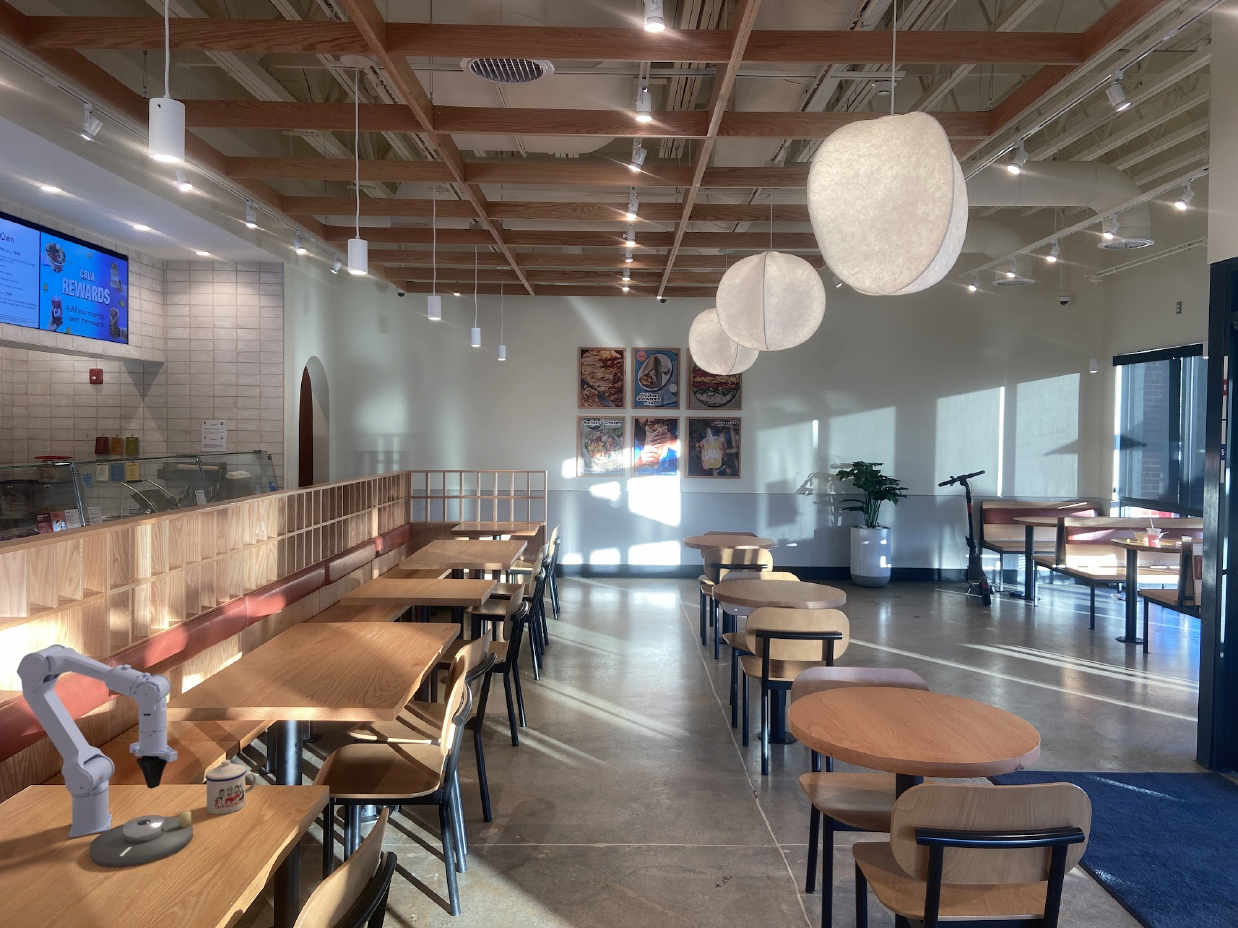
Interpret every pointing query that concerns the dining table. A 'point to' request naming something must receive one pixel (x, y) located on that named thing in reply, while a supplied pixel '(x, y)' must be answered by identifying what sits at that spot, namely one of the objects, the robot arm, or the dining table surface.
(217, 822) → the dining table surface
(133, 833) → the cover
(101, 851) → the turntable
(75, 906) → the dining table surface
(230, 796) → the teacup with lid
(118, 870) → the dining table surface
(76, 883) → the dining table surface
